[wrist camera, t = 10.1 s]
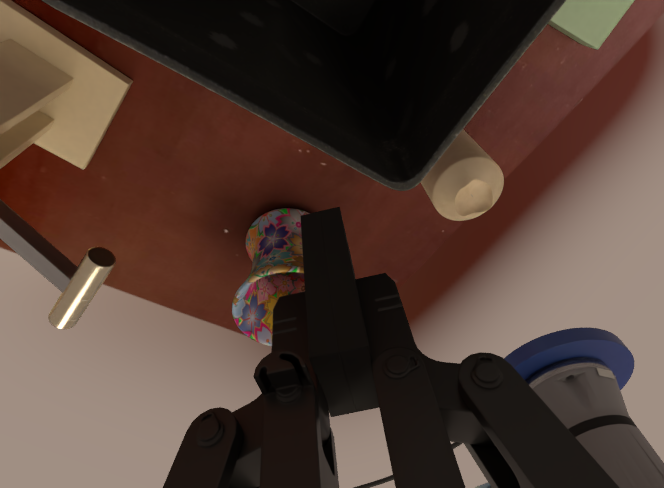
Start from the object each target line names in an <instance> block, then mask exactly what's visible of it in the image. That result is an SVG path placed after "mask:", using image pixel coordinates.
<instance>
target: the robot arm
mask: <svg viewBox="0 0 664 488" xmlns="http://www.w3.org/2000/svg"><path fill="white" fill-rule="evenodd" d="M300 217H301V233H302V250H303V267H304V284H305V291H304V292H299V293H295V294H290V295H285V296H281V297H279V299H278V301H277V303H276V304H275V306H274V308H273V325H272V334H273V335H272V353H270V354H269V355H267V356H266V357H265V358H263V359H262V360H261V361H260V363H259V364H258V366H257V367H256V369H255V373H254V379H255V380H256V382H257V384H258V386H259V388H260V390H261V392H262V394H261V395H260V396H259V397H258V398H257V399H255V400H254V401H252V402H251V403H249V404H247V405H245V406H243V407H242V408H240V409H238V410H236V411H234V412H231V411H229V410H228V409H225V408H213V409H209V410H208V411H206V412H204V413H202V414H200V415H199V416H198V417H197V418H196V419H195V420H194V421H193V422H192V423H191V425H190V427H189V429H188V430H187V432H186V434H185V436H184V439H183V441H182V444H181V446H180V448H179V451H178V453H177V455H176V458H175V460H174V462H173V465H172V467H171V470H170V472H169V475H168V477H167V479H166V481H165V484H164V486H163V488H339V482H338V474H337V473H338V472H337V462H336V453H335V443H334V436H333V433H332V430H331V428H330V420H329V413H330V415H331V417H334V416H339V415H344V414H349V413H353V412H358V411H363V410H368V409H373V408H378V407H380V412H381V417H382V422H383V426H384V432H385V437H386V441H387V447H388V451H389V456H390V461H391V466H392V471H393V475H391V476H389V477H386V478H383V479H380V480H377V481H374V482H371V483H368V484H364V485H361V486H357V487H354V488H370V487H373V486H376V485H379V484H382V483H385V482H388V481H391V480H394V481H395V486H396V488H465V485H464V482H463V479H462V476H461V473H460V470H459V467H458V464H457V461H456V458H455V455H454V452H453V449H454V448H456V447H457V446H459V445H460V444H462V443H464V444H465V446H466V447H467V449H468V450H469V452H470V454H471V455H472V457H473V459H474V460H475V462H476V463H477V465H478V466H479V468H480V470H481V471H482V473H483V474H484V476H485V477H486V479H487V480H488V483H485V484H483V485H480V486H477V487H475V488H664V463H663V461H662V460H661V459H660V457H659V456H658V455H657V453H656V452H655V451H654V449H653V448H652V447H651V445H650V444H649V443H648V441H647V440H646V438H645V437H644V436H643V435H642V433H641V432H640V430H639V429H638V428H637V426H636V425H635V424H634V422H633V421H632V419H631V418H630V417H629V415H628V412H627V409H626V406H625V403H624V400H623V397H622V394H621V392H620V389H619V386H618V383H617V379H616V376H615V375H614V374H613V372H612V371H611V370H610V368H609V367H608V366H607V365H606V364H605V363H604V362H603V361H601V360H599V359H596V358H590V357H576V358H569V359H565V360H561V361H558V362H555V363H552V364H550V365H547V366H545V367H543V368H541V369H540V370H538V371H536V372H535V373H533V374H532V375H531V376H529V377H528V378H527V379H526V380H524V379H523V378H522V377H521V375H520V374H519V373H518V372H517V371H516V370H515V369H514V368H513V366H512V365H511V364H510V363H508V362H507V361H506V360H505V359H503V358H502V357H500V356H497V355H494V354H491V353H477V354H472V355H470V356H468V357H467V358H466V359H464V360H463V361H462V363H461V364H457V363H446V362H439V361H435V360H433V359H430V358H428V357H427V356H425V355H424V354H422V353H421V351H420V350H419V349H418V348H417V346H416V344H415V342H414V339H413V336H412V333H411V330H410V327H409V323H408V320H407V317H406V314H405V311H404V308H403V306H402V302H401V299H400V297H399V293H398V290H397V287H396V284H395V282H394V281H393V280H392V279H391V278H390V277H389V276H388V275H387V274H386V273H383V274H378V275H374V276H369V277H364V278H360V279H355V274H354V269H353V264H352V260H351V255H350V251H349V247H348V242H347V238H346V233H345V229H344V224H343V220H342V215H341V211H340V207H337V208H332V209H328V210H324V211H319V212H315V213H310V214H306V215H301V216H300ZM450 441H452V442H455V443H453V444H451V443H450Z"/></svg>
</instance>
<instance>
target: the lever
mask: <svg viewBox="0 0 664 488" xmlns="http://www.w3.org/2000/svg"><path fill="white" fill-rule="evenodd" d="M0 239H2V240H3V241H4V242H5V243H6V244H7V245H8V246H10V247H11V248H12V249H13V250H14V251H15V252H16V253H18V254H19V255H20V256H21V257H22V258H23V259H24V260H26V261H27V262H28V263H29V264H30V265H31V266H33V267H34V268H35V269H36V270H37V271H38V272H39V273H41V274H42V275H43V276H44V277H46V279H47V280H49V281H50V282H51V283H52V284H54V286H55V287H57V288H58V289H59V290H60V291H61V292H62V294H61V295H60V297H59V299H58V300H57V302H56V304H55V305H54V307H53V309H52V310H51V312H50V314H49V317H48V319H49V322H50V323H51V325H53V326H54V327H56V328H59V329H69V328H72V327H73V326H74V325H75V324H76V323H77V321H78V320H79V318H80V317H81V315H82V314H83V312H84V311H85V309H86V308H87V306H88V304H89V303H90V302H91V300H92V299H93V297H94V296H95V294H96V293H97V291H98V289H99V288H100V287H101V285H102V284H103V282H104V281H105V279H106V278H107V276H108V275H109V273H110V271H111V270H112V268H113V267H114V265H115V264H116V258H115V256H114V254H113V253H112V252H111V251H109V250H107V249H105V248H102V247H93V248H90V249H89V250H88V251H87V252H86V254H85V255H84V257H83V259H82V260H81V262H80V264H79V265H78V267H77V266H76V265H75V264H73V263H72V262H71V261H70V260H69V259H68V258H67V257H65V256H64V255H63V254H62V253H61V252H60V251H59V250H58V249H56V248H55V247H54V246H53V245H52V244H51V243H50V242H48V241H47V240H46V239H45V238H44V237H43V236H42V235H40V234H39V233H38V232H37V231H36V230H35V229H34V228H32V227H31V226H30V225H29V224H28V223H27V222H26V221H24V220H23V219H22V218H21V217H20V216H19V215H18V214H17V213H15V212H14V211H13V210H12V209H11V208H10V207H9V206H7V205H6V204H5V203H4V202H3V201H2V200H1V199H0Z"/></svg>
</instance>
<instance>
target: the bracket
mask: <svg viewBox="0 0 664 488" xmlns="http://www.w3.org/2000/svg"><path fill="white" fill-rule="evenodd" d="M132 83H133V81H132V80H131V79H130V78H128V77H127V76H125V75H123V74H122V73H120V72H119V71H117V70H116V69H114V68H113V67H111V66H110V65H108V64H107V63H105V62H104V61H102V60H101V59H99V58H98V57H96V56H95V55H93V54H92V53H90V52H89V51H87V50H86V49H84V48H83V47H81V46H80V45H78V44H77V43H75V42H74V41H72V40H70V39H69V38H67V37H66V36H64V35H63V34H61V33H60V32H58V31H57V30H55V29H54V28H52V27H51V26H49V25H48V24H46V23H45V22H43V21H42V20H40V19H39V18H37V17H36V16H34V15H33V14H31V13H30V12H28V11H27V10H25V9H24V8H22V7H21V6H19V5H17V4H16V3H14V2H13V1H11V0H0V169H1V168H2V167H3V166H5V165H6V164H7V163H8V162H10V161H11V160H12V159H13V158H15V157H16V156H17V155H19V154H20V153H21V152H22V151H24V150H25V149H26V148H27V147H29V146H30V145H31V144H32V143H35V144H36V145H38V146H40V147H42V148H44V149H46V150H48V151H49V152H51V153H53V154H55V155H57V156H59V157H61V158H63V159H64V160H66V161H68V162H70V163H72V164H74V165H76V166H77V167H79V168H81V169H85V168H86V167H87V165H88V164H89V163H90V161H91V159H92V157H93V155H94V153H95V152H96V150H97V148H98V146H99V144H100V142H101V140H102V138H103V137H104V135H105V133H106V131H107V129H108V127H109V125H110V124H111V122H112V120H113V118H114V116H115V114H116V112H117V111H118V109H119V107H120V105H121V103H122V101H123V99H124V97H125V96H126V94H127V92H128V90H129V88H130V86H131V84H132Z"/></svg>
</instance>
